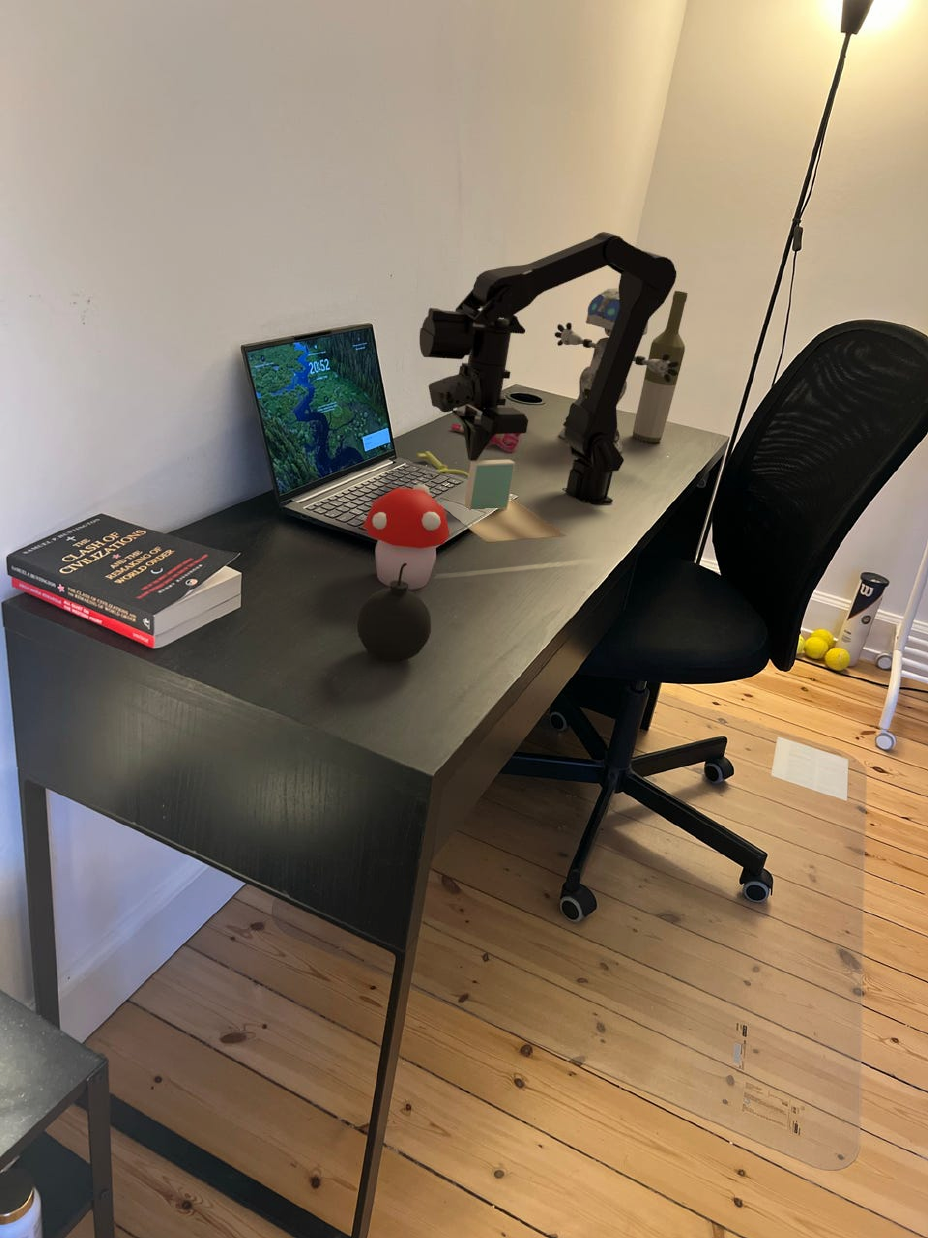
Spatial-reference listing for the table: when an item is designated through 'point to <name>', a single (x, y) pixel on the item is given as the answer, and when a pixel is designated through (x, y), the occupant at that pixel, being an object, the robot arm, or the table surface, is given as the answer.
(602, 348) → the toy robot
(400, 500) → the mushroom
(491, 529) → the mat
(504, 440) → the toy
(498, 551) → the table surface
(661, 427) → the bottle
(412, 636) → the bomb
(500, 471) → the tile
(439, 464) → the key
